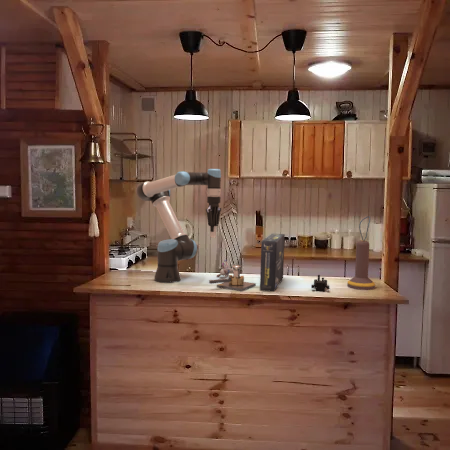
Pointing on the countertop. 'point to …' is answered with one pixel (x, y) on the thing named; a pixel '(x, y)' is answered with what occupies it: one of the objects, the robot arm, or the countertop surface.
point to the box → (272, 262)
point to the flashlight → (362, 266)
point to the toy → (320, 284)
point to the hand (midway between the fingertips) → (213, 237)
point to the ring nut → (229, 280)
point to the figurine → (225, 270)
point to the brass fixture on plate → (236, 287)
